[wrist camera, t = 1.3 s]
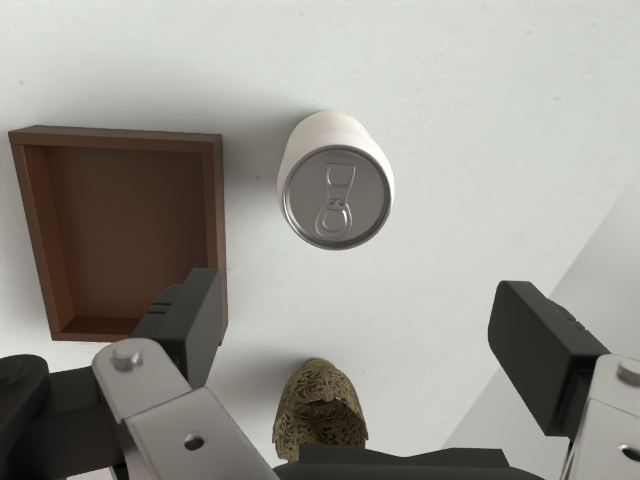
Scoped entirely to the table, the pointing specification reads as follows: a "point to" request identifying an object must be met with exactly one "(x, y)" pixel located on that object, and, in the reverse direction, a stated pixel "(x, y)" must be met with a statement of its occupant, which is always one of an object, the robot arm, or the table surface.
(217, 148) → the tray
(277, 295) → the table surface
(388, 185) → the can
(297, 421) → the cup
